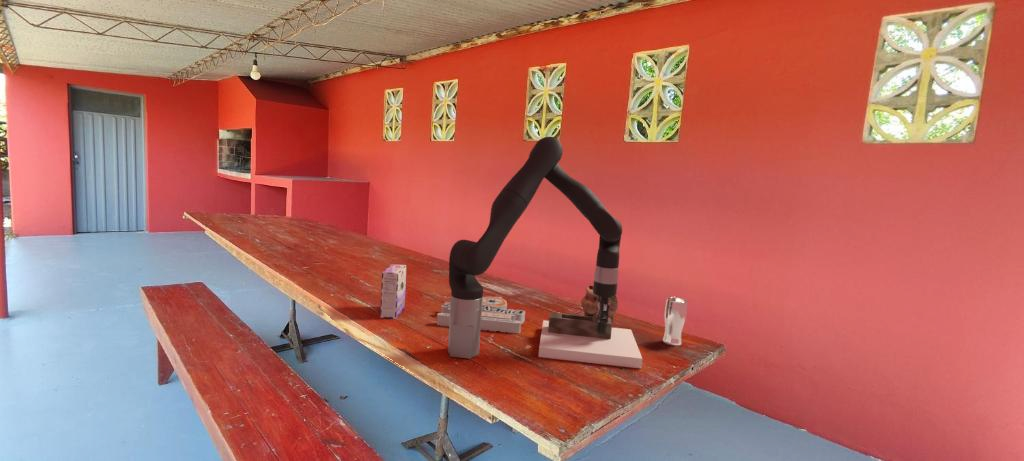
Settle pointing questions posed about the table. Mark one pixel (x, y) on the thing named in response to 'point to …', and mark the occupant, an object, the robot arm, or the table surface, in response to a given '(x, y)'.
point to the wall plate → (592, 348)
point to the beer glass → (674, 320)
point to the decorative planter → (591, 304)
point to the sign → (491, 316)
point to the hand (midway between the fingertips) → (600, 329)
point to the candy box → (393, 291)
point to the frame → (577, 325)
